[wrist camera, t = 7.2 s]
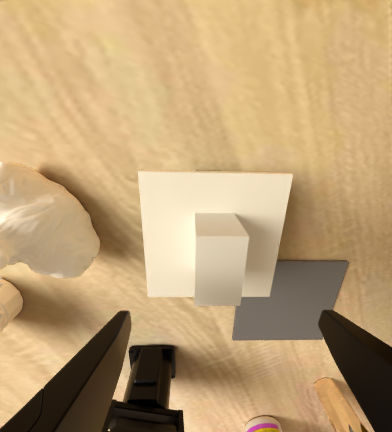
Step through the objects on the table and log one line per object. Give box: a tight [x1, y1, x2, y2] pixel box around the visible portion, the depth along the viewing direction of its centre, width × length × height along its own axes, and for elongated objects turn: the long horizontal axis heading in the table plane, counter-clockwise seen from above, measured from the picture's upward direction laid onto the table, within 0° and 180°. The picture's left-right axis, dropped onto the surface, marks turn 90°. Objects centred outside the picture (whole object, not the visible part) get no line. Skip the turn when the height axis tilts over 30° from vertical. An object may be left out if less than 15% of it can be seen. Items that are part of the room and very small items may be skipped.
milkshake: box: [314, 378, 369, 432], centre depth 27 cm, size 4×5×10 cm
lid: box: [138, 170, 293, 306], centre depth 14 cm, size 11×11×5 cm
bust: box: [0, 162, 100, 287], centre depth 16 cm, size 12×8×11 cm
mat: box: [232, 260, 349, 340], centre depth 25 cm, size 13×13×1 cm
